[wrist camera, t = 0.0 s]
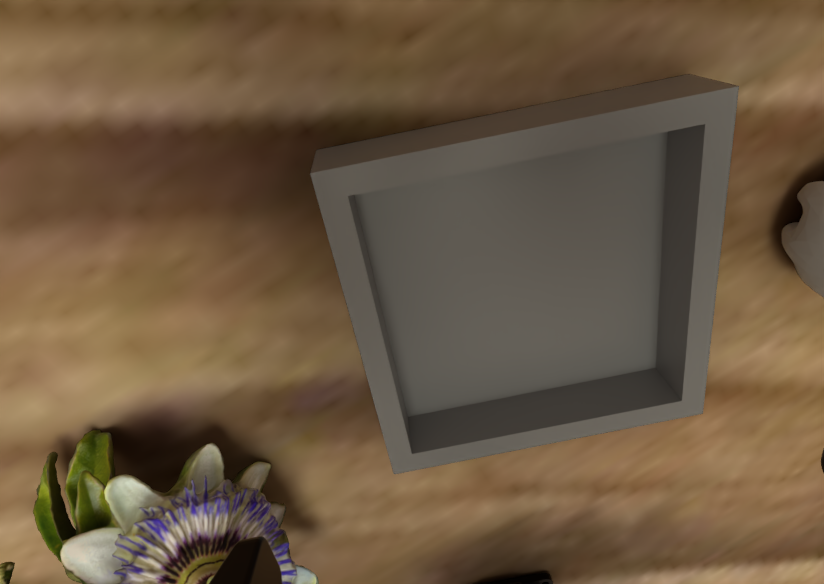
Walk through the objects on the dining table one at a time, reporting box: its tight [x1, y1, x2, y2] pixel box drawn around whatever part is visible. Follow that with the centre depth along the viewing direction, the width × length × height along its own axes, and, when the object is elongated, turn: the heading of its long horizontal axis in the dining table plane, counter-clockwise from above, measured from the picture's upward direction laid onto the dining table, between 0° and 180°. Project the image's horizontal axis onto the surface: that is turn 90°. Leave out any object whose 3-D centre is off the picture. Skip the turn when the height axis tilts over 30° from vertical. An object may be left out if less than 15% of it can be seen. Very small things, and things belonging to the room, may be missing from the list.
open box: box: [310, 74, 739, 474], centre depth 22 cm, size 14×14×3 cm
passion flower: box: [0, 430, 319, 584], centre depth 25 cm, size 11×11×12 cm
